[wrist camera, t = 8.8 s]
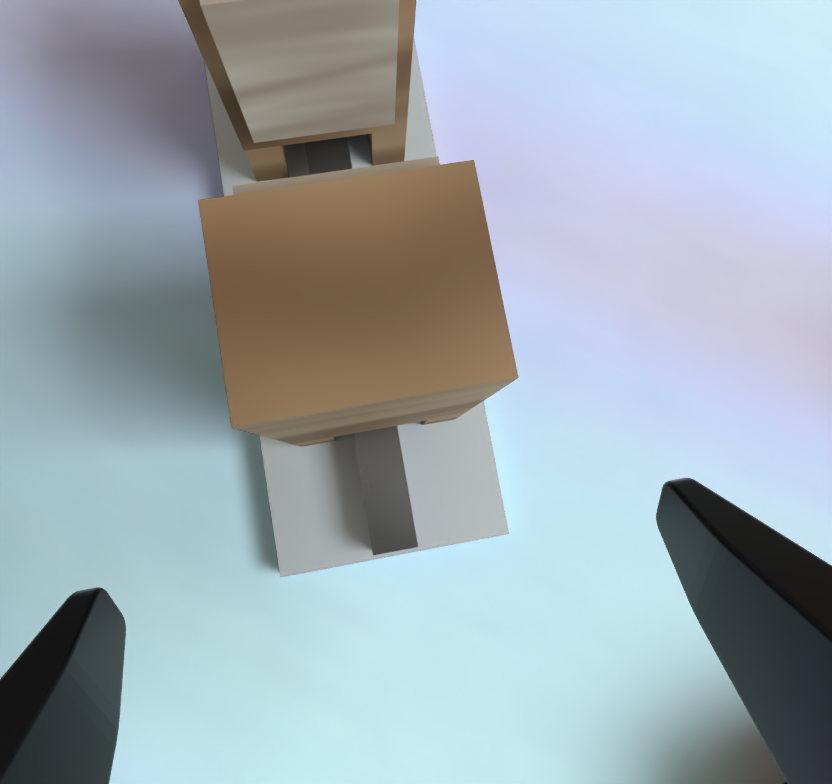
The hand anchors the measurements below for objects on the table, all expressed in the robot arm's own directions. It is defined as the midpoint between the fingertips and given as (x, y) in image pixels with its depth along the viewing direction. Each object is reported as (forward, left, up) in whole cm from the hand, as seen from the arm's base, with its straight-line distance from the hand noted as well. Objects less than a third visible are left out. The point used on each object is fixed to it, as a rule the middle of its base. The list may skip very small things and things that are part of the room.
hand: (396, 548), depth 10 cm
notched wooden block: (+4, +3, -11) cm, 12 cm away
